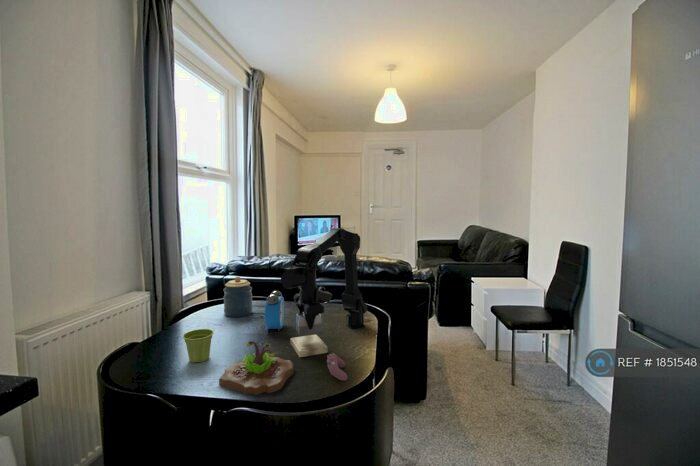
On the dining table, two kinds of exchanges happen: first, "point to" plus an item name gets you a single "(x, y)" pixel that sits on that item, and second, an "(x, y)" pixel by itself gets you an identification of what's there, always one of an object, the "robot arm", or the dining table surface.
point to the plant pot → (198, 344)
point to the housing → (303, 327)
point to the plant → (257, 372)
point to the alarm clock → (274, 311)
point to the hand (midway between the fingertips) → (308, 326)
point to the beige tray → (308, 345)
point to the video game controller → (336, 367)
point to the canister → (237, 298)
